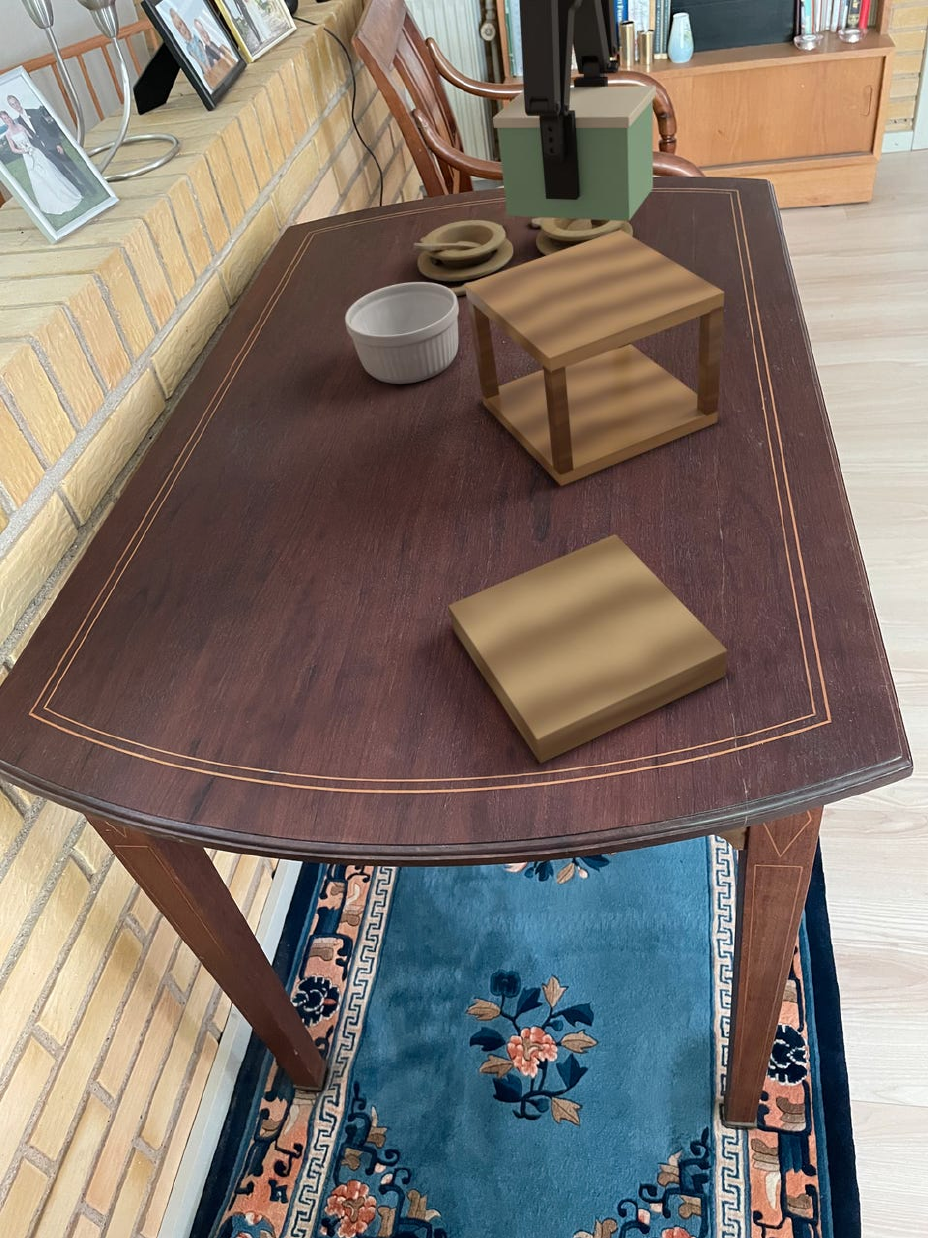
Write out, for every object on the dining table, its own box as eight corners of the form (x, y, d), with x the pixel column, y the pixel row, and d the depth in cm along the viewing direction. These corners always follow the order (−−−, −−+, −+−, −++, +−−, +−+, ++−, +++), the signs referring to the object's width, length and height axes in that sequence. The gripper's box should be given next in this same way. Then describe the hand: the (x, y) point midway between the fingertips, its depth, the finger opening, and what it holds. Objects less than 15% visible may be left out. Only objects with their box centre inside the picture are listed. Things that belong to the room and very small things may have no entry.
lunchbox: (656, 187, 79) (656, 85, 73) (630, 222, 75) (628, 116, 69) (533, 184, 84) (525, 87, 78) (503, 217, 79) (492, 117, 74)
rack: (717, 422, 93) (724, 291, 83) (561, 486, 89) (549, 358, 80) (623, 350, 105) (620, 229, 95) (483, 404, 102) (464, 284, 92)
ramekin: (440, 322, 117) (431, 269, 112) (484, 365, 107) (475, 310, 103) (344, 357, 114) (330, 304, 109) (380, 404, 105) (366, 349, 100)
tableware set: (421, 303, 121) (412, 259, 117) (417, 241, 135) (409, 200, 131) (646, 264, 119) (645, 218, 115) (618, 206, 133) (617, 163, 129)
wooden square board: (725, 676, 70) (727, 650, 68) (540, 764, 67) (536, 739, 65) (616, 559, 81) (615, 533, 79) (453, 630, 78) (447, 605, 76)
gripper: (560, -192, 69) (578, 134, 85) (445, -138, 57) (491, 227, 73) (657, -206, 66) (657, 134, 82) (557, -153, 54) (580, 232, 71)
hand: (579, 178), depth 78 cm, fingers closed on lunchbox, 7 cm apart
